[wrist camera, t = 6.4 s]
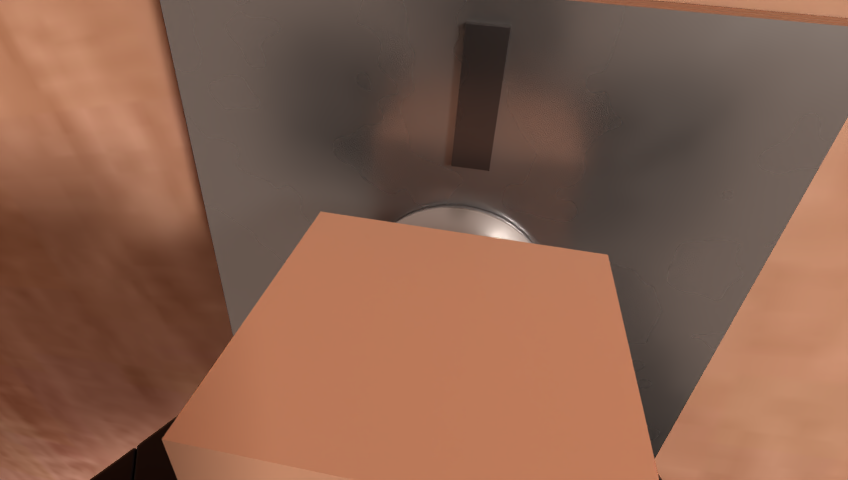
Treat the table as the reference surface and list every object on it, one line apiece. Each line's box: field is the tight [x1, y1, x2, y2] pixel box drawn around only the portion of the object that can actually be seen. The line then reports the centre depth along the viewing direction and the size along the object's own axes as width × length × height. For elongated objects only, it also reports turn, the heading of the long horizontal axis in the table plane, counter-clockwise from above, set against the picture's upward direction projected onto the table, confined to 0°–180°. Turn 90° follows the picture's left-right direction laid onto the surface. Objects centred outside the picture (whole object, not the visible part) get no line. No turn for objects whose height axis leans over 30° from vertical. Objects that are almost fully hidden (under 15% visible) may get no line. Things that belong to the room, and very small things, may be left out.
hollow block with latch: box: [162, 212, 659, 480], centre depth 9 cm, size 5×5×5 cm
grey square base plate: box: [160, 0, 848, 459], centre depth 11 cm, size 13×13×4 cm
